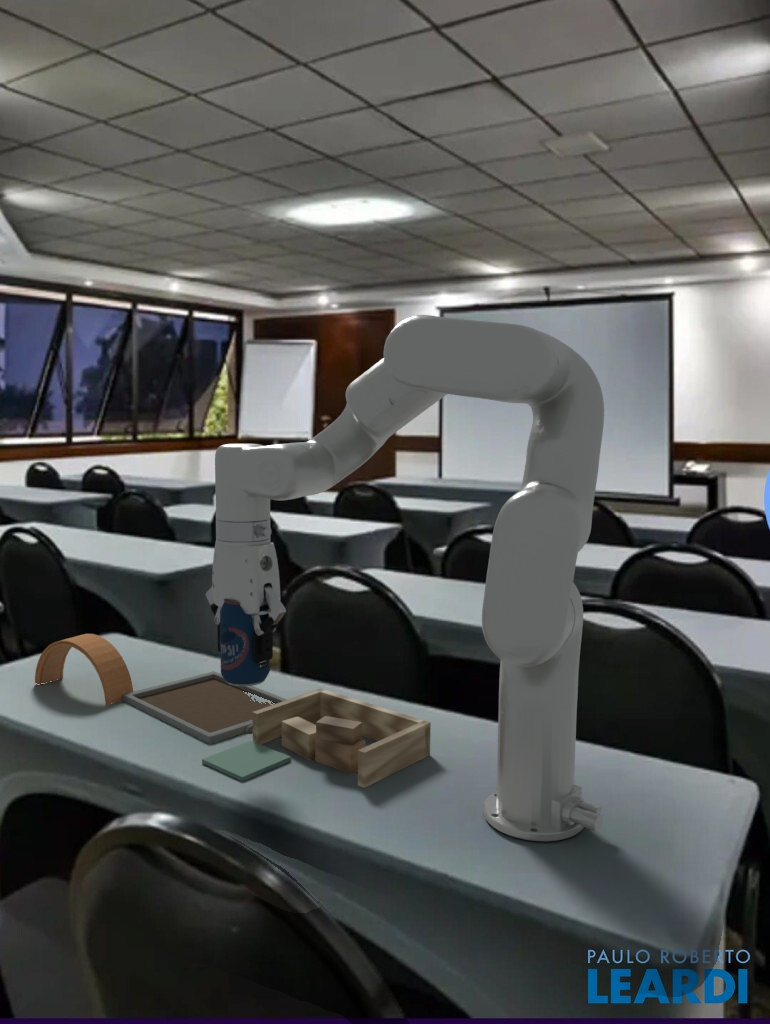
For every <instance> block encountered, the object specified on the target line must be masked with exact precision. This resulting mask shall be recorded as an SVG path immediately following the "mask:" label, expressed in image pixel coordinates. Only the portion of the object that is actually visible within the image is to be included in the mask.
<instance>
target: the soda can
mask: <svg viewBox="0 0 770 1024" xmlns="http://www.w3.org/2000/svg"><path fill="white" fill-rule="evenodd" d="M263 610H264V607H260V610H259V611H263ZM259 617H260V620H261V623H263V622H264V621H265V615H264V616H259ZM254 634H256V632H255V629H254V626H253V623H252V617H251V616H250V615H248V614H246V613H245V612H244V610H243V609H242V607H241V606H240V603H239V602H230V601H226V600H225V599H224V603H223V605H222V607H221V609H220V652H219V653H220V674H221V675H222V676H223V678H224V679H225V681H226V683H228V684H230V685H233V686H256V685H261V684H262V683H264V682H265V680H266V679H267V677H268V675H269V674H270V670H271V665H270V663H271V662H270V661H271V659H270V660H266V661H263V662H260V663H255V662H253V643H252V637H253V635H254Z"/></svg>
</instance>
